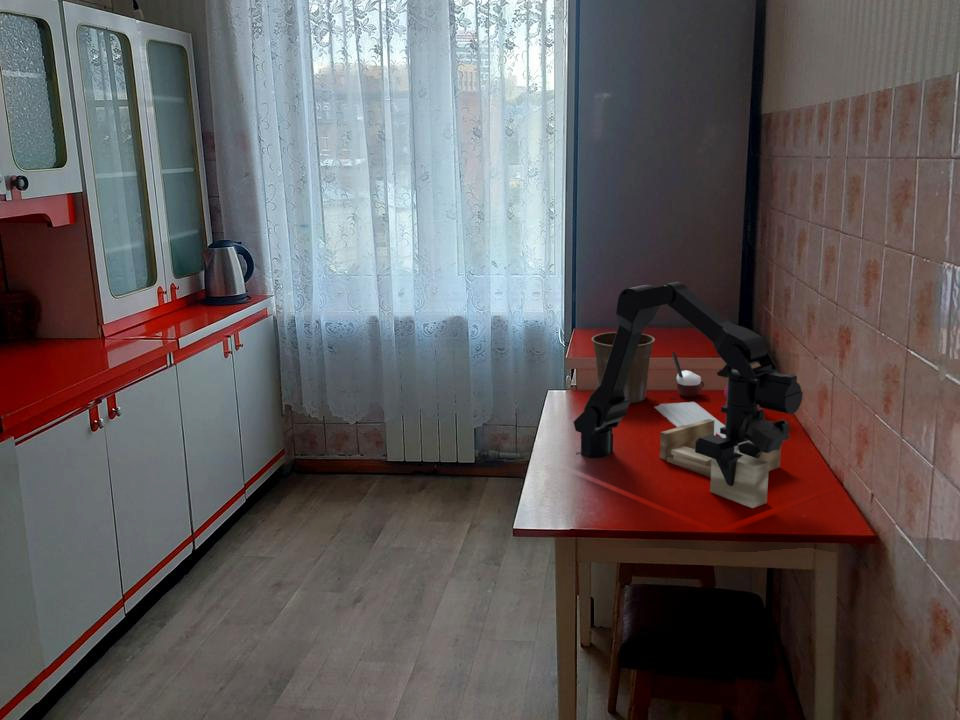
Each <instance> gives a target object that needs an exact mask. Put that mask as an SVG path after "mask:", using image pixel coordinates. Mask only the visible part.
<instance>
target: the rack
mask: <svg viewBox="0 0 960 720" xmlns="http://www.w3.org/2000/svg"><path fill="white" fill-rule="evenodd" d="M714 421H715V420H711V419H707V420H703V421H700V422H696V423H692V424H689V425H685V426H684V425H683V426H680V427H675V428H671V429H667V430H664V431H660V443H659V444H660V445H659V447H660V448H659V450H660V451H659V459H661V460H664V461H667V457H669V456H672V454H671V451H672V450H673V449H676V448H679V447H682V446H685V447H689V448H692V449H695V441H696V440H697V439H699V438H701V437H704V436H708V435H711V434H713V435H714ZM781 451H782V447H781V448H780V449H779V450H774V451H771V452H770V453H764V452H762V453H761V455H760V457H759V459H761V460H764V461H767V462H769V472H770V471H773V470H776V469H779V468H781ZM737 452H739V447H738V448H737Z"/></svg>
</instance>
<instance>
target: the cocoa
mask: <svg viewBox="0 0 960 720" xmlns="http://www.w3.org/2000/svg"><path fill="white" fill-rule="evenodd" d="M671 355H672V358H673V360H674V364H675V368H676V370H677V371H676V372H677V374H676V377H675V378H676V379H675V380H677V381H676V389H677V392H678V394H679V395H680V396H681V395H682V396H681V397H683V396H685V398H694V396H695V397H696V396H697V395H699V394H700V392H701V390H703V389H704V386H705V383H704V382H703V381H702V377H701V376H700V375H698V374H696V373H694V372H692V371H691V370H686V369H685V370H682V369H681V366H680V363H679V360H678V356H677V353H676V352H673V351H672V352H671Z"/></svg>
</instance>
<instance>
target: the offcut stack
mask: <svg viewBox="0 0 960 720" xmlns="http://www.w3.org/2000/svg"><path fill="white" fill-rule="evenodd" d="M671 454H672V456H669V457H667V460H666V462H667V463H670V464H672V465H676V466H678V467H680V468H684V469H686V470H689V471H691V472H694V473H696V474H697V473H698V474H701V475H702V476H706V477H708V478H711V461H712V458H710V457H707V456H705V455H702V454H699V453H696V452H695V449H692V448H689V447H685V446H682V447H679V448H676V449H673V450H672V451H671Z"/></svg>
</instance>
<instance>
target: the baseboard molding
mask: <svg viewBox="0 0 960 720" xmlns="http://www.w3.org/2000/svg"><path fill="white" fill-rule="evenodd" d="M676 400H677V397H673V398H671V397H670V398H669V399H668V400H667V403H660V404H659V405H656V406H655V405H654V403H656V402H657V400H654V403H652V404H649V405H650V408H651V407H652V408H653V409H656V411H658V413H660V414H661V415H662V416H663V417H664V418H665V417H666V418H667V420H668V422H670V423H671V424H672V425H673V426H674V425H675V426H676V427H675V426H674V427H675V428H678V427H681V426H685V425H689V424H692V423H696V422H700V421H703V420H707V419H711V420H715V421H714V435H716V436H718V435H719V437H722V438H726V435H724V434H721V433H720V428H722V427H725V424H724V423H722V422H721V421H720V420H718V419H717V418H716V417H714V416H713V414H711V413H710V412H708V411H707V410H706V409H704V408H703V407H702V406H701V405H699V404H698V403H696V402H695V398H691V399H689V398H688V399H685V401H687V400H689V402H673V403H668V401H676ZM690 400H693V401H690ZM666 418H665V419H666Z"/></svg>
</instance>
